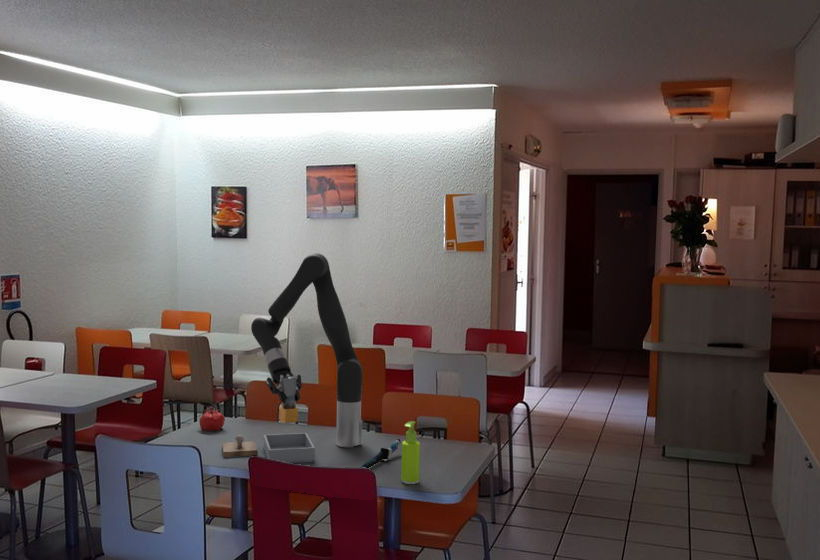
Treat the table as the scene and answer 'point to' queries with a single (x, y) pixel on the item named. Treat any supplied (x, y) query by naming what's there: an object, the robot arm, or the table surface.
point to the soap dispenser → (410, 455)
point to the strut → (289, 401)
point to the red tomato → (211, 420)
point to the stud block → (239, 448)
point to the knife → (383, 454)
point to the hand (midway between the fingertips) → (291, 401)
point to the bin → (289, 447)
